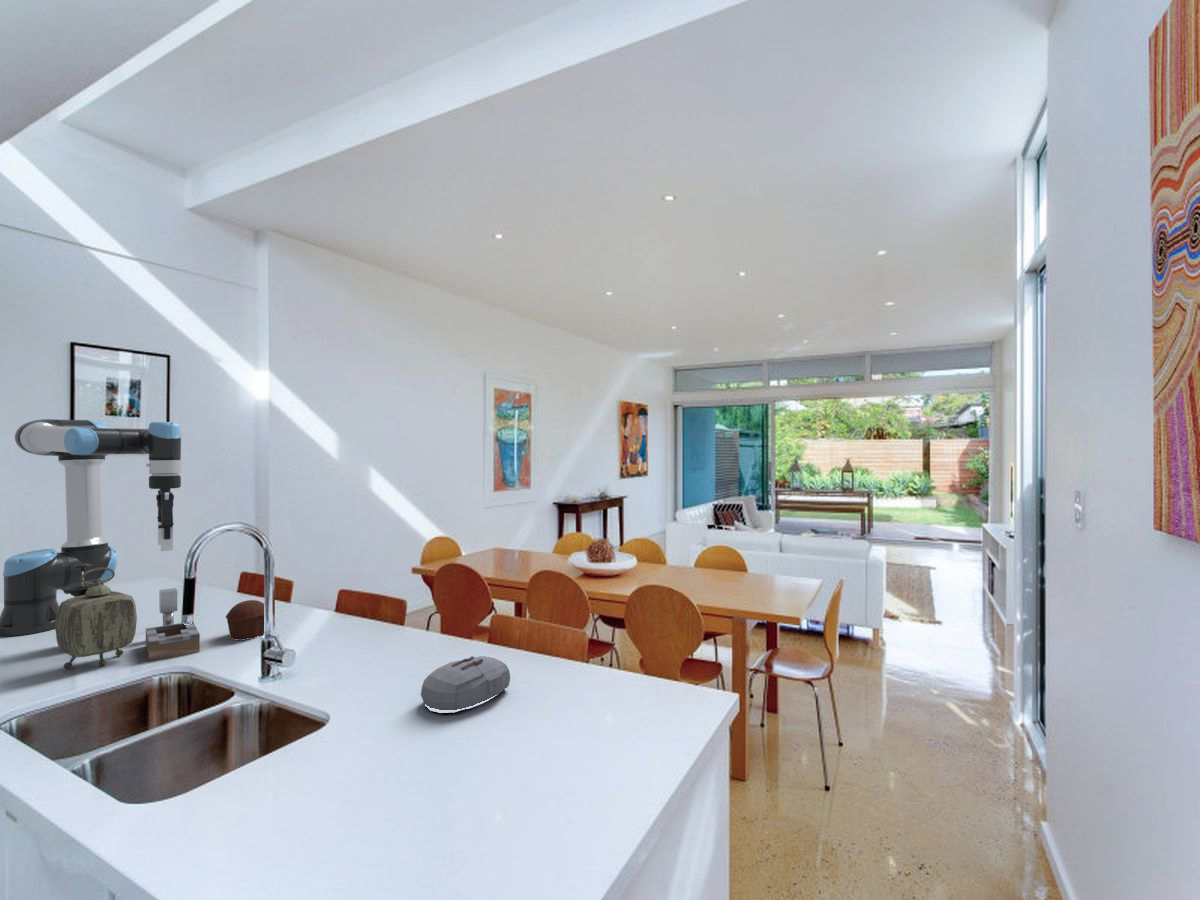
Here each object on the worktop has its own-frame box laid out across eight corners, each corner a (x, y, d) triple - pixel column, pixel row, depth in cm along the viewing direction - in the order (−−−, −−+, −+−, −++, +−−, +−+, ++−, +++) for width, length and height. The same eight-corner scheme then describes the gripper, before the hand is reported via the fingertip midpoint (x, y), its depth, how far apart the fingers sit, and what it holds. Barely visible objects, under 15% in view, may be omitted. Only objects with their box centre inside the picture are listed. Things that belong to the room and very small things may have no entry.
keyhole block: (145, 646, 165) (145, 628, 165) (192, 638, 173) (192, 621, 172) (149, 661, 154) (149, 642, 154) (199, 651, 161) (199, 633, 161)
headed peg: (156, 637, 173) (156, 589, 173) (178, 633, 176) (178, 587, 176) (157, 641, 169) (157, 593, 169) (180, 638, 172) (180, 590, 172)
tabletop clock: (124, 652, 160) (124, 561, 160) (139, 659, 156) (139, 565, 155) (55, 670, 148) (55, 571, 148) (69, 677, 143) (69, 575, 143)
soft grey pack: (474, 677, 145) (405, 706, 129) (474, 643, 145) (405, 668, 129) (519, 692, 136) (450, 725, 120) (519, 657, 136) (450, 685, 120)
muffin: (254, 641, 170) (254, 607, 170) (216, 641, 170) (216, 607, 170) (277, 629, 181) (277, 596, 181) (242, 628, 182) (242, 596, 182)
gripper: (146, 473, 179) (146, 543, 179) (151, 477, 159) (151, 555, 160) (177, 472, 183) (177, 540, 184) (184, 476, 164) (184, 551, 164)
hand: (165, 547), depth 172 cm, fingers open, 13 cm apart
